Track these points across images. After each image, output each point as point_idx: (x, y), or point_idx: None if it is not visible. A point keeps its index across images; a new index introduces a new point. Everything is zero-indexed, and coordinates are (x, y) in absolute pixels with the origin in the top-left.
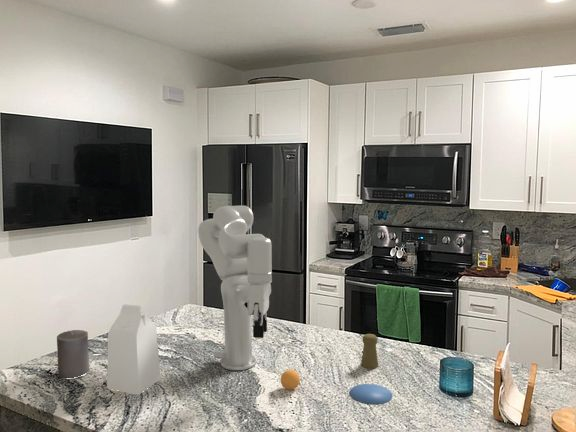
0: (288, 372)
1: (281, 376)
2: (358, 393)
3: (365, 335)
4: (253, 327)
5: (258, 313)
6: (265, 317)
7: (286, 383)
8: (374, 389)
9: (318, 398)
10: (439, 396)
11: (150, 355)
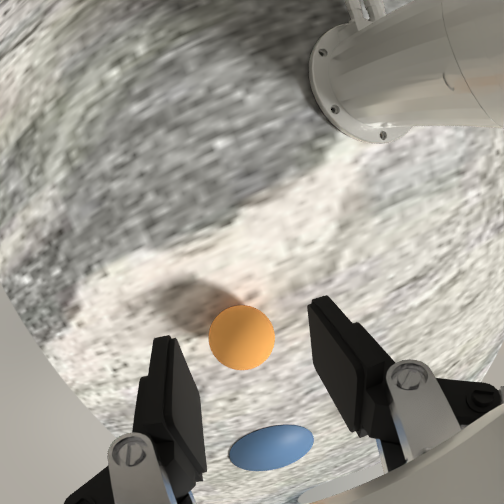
0: (233, 356)
1: (229, 322)
2: (265, 439)
3: None
4: (146, 405)
5: (402, 442)
6: (377, 445)
7: (209, 338)
8: (291, 449)
9: (211, 394)
10: (292, 492)
11: None
